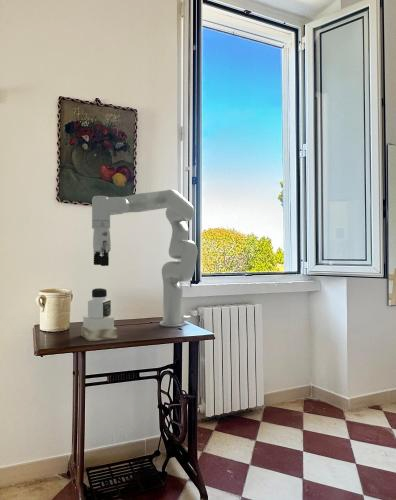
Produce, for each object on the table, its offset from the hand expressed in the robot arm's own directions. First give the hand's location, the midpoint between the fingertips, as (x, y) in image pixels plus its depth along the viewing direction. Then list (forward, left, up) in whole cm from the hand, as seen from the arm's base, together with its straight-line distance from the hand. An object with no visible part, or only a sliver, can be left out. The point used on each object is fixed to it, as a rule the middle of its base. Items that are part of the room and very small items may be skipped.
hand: (101, 265), depth 164 cm
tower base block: (0, 0, -31) cm, 31 cm away
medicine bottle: (0, 0, -22) cm, 22 cm away
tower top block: (+1, -1, -27) cm, 27 cm away
